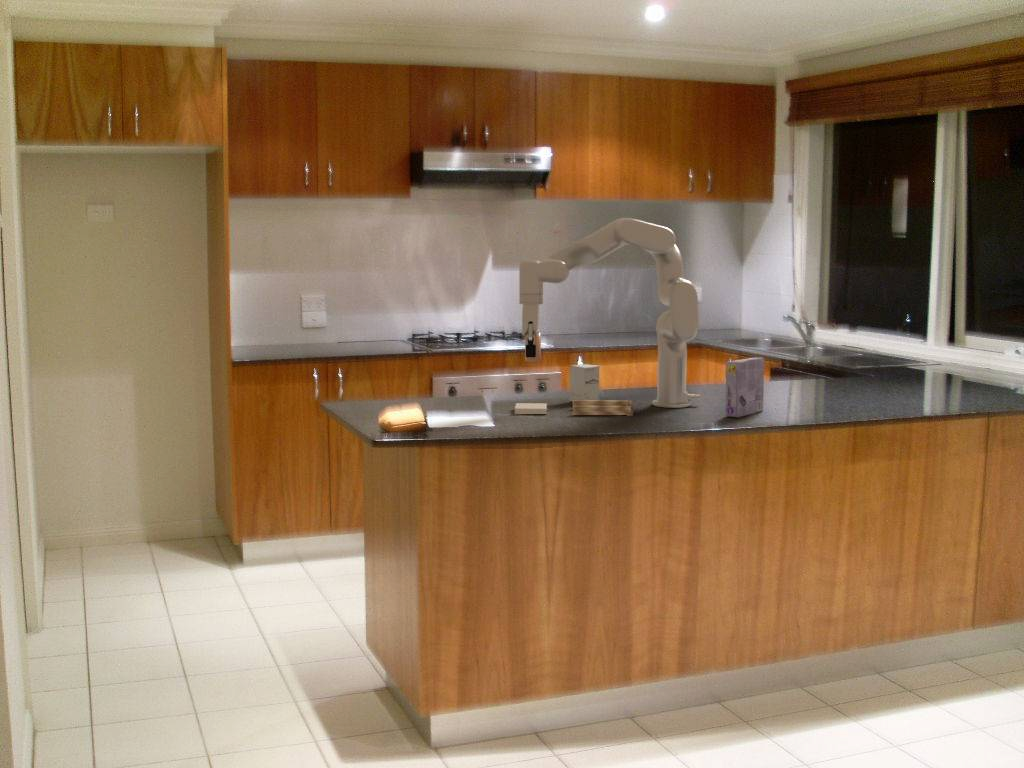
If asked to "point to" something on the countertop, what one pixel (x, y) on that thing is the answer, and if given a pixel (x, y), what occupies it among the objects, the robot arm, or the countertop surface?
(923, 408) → the countertop surface
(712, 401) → the countertop surface
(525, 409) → the block
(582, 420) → the countertop surface
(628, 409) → the wooden tray
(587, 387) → the supplement box
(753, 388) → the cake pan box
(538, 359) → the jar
